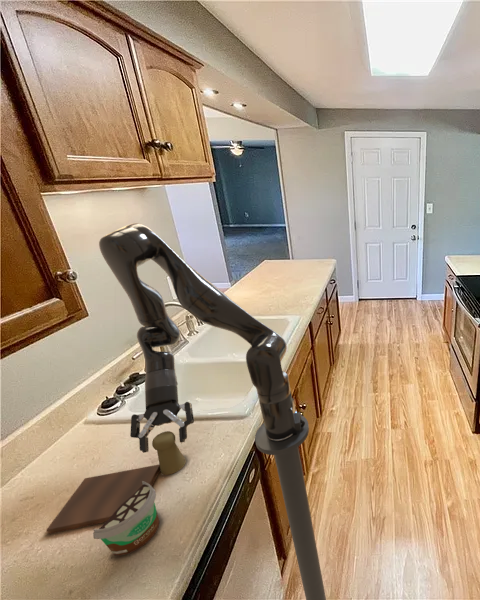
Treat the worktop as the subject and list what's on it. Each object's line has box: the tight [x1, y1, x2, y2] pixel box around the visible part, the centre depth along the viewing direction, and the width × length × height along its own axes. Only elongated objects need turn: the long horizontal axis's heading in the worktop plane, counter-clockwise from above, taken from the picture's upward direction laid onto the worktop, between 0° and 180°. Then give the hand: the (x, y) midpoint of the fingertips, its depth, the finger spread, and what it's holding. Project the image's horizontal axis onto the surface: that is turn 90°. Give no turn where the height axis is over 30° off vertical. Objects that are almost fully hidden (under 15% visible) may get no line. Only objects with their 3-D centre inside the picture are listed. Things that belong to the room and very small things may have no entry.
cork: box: [151, 430, 187, 476], centre depth 91 cm, size 6×6×11 cm
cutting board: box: [46, 464, 161, 535], centre depth 84 cm, size 18×14×2 cm
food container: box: [92, 481, 160, 557], centre depth 73 cm, size 12×6×10 cm, turn 170°
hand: (164, 447), depth 89 cm, fingers open, 8 cm apart
